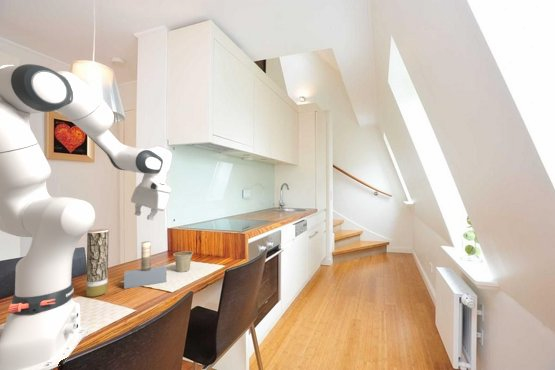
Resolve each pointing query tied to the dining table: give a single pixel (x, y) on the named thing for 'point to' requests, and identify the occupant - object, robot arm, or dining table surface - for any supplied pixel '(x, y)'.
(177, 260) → the flower pot
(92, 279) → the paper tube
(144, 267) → the dowel
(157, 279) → the grey rectangular block
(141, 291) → the dining table surface
